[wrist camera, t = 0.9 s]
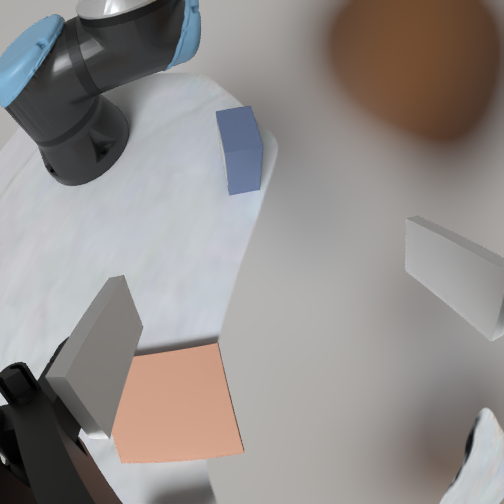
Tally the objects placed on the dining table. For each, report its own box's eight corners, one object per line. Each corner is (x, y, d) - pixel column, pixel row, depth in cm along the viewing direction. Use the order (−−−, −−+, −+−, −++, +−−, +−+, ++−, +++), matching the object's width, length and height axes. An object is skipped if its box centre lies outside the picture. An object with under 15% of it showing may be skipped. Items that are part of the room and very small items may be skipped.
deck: (221, 158, 41) (215, 111, 32) (250, 153, 41) (251, 105, 32) (229, 195, 40) (224, 153, 30) (259, 189, 40) (263, 146, 30)
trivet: (98, 360, 33) (94, 361, 32) (218, 342, 35) (217, 343, 34) (124, 460, 30) (121, 463, 29) (244, 450, 31) (244, 453, 30)
